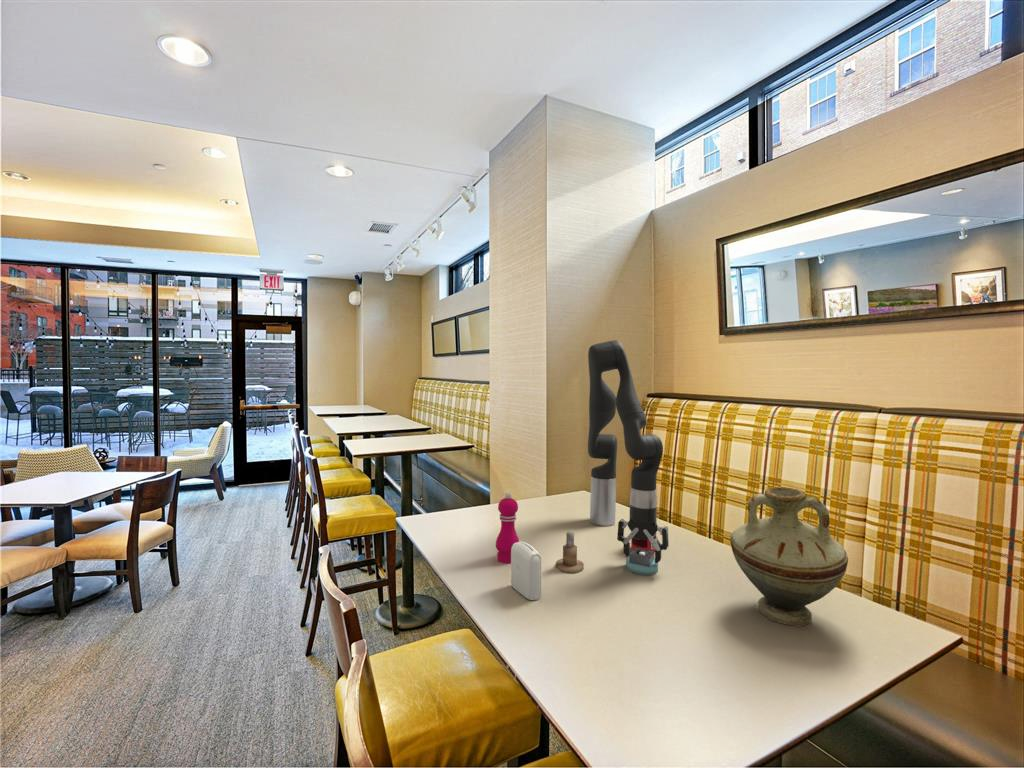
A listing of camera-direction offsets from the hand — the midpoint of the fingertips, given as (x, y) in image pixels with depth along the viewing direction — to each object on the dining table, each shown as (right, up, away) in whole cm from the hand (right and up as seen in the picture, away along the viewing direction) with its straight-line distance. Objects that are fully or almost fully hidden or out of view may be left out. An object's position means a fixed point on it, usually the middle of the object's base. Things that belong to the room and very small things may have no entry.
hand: (642, 559), depth 134 cm
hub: (0, -3, 0) cm, 3 cm away
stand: (-21, -2, 0) cm, 21 cm away
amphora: (+27, -4, -24) cm, 36 cm away
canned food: (+4, -3, +14) cm, 15 cm away
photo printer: (-34, -3, -15) cm, 37 cm away
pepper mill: (-39, -2, +5) cm, 39 cm away
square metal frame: (0, -1, 0) cm, 1 cm away
